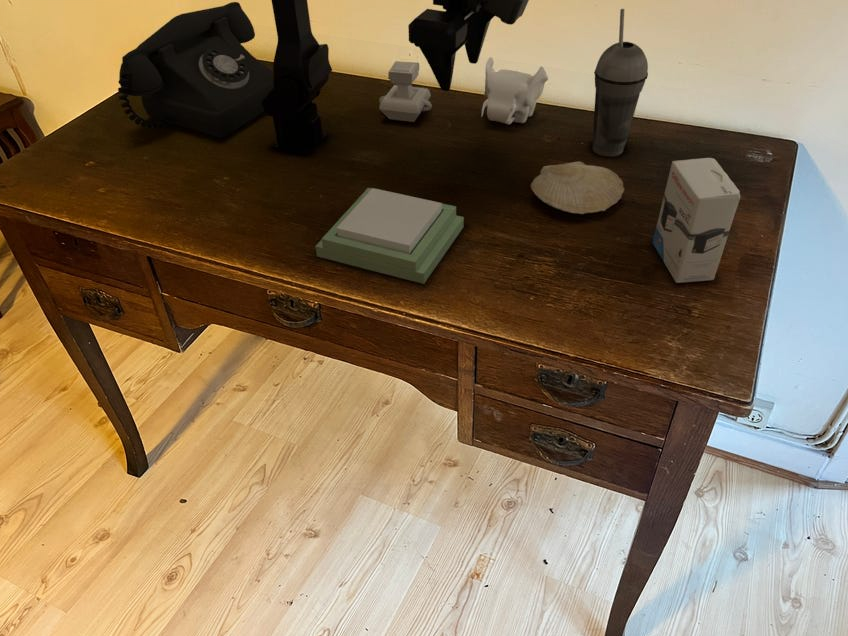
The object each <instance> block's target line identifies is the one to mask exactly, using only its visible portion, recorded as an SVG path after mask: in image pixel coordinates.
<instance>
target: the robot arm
mask: <svg viewBox="0 0 848 636" xmlns="http://www.w3.org/2000/svg"><path fill="white" fill-rule="evenodd" d="M529 1H530V0H432V5H433V6H440V7H442V9H443V10H438V9H432V8H426V9H425V10H424V11H422V12H421V13H420V14H419V15H417V16H416V17H415V18H414V19H413V20H412V21H411V22H410V23H409V24H408V25H407V26H408V42H409V43H410V44H413V45H414V47H417V48H419V49H420V52H421V53H422V54H423V56H424V58H425V60H426V62H427V63H428V66H429V68H430V69H431V72H432V73H433V75H434V78H435V79H436V82H437V84H438V87H439V88H440V90H442V91H445V92H449V91H450V90H451V86H452V83H453V75H454V69H455V61H456V55H457V52H458V51H459V50H460V49H461V48H462V47H463V46H464V48H465V53H466V55H467V60H468V62H469V63H470V64H477V63H478V62H479V59H480V57H481V52H482V48H483V45H484V43H485V39H486V35H487V32H488V30H489V26H490V23H491V21H492V19H494V18H495V17H497V18H498V19H500V22H502V23H504V24H506V25H510V26H511V25H514V24H515V23H516V22H517V20H518V19H519V18H520V17H522V16H523V14H524V13H525V11H526V8H527V6H528V4H529ZM271 6H272V12H273V18H274V25H275V29H276V35H277V43H276V48H275V52H274V57H273V62H272V69H273V70H272V71H273V81H274V88H273V89H272V90H271V91H270V93H269V94H268V95H267V96H266V97H265V98H264V100H263V101H262V102H261V103H262V106H263V108H264V110H265V111H264V112H265V114H266V115H267V116H268V117H272V118H273V119H272V120H273V126H274V132H275V137H276V140H275V141H274V142H272V143H271V148H272V149H274V150H279V151H283V152H289V153H292V154H297V155H302V156H307V155H309V154H311V152H312V151H313V150H314V149H316V148H317V146H319V145H320V144H321V143H322V142H323V141H324V140H325V139H326V138H327V134H326V133H325V132H323V127H322V118H321V114H319V113H318V112H319V111H318V106H317V103H315V102H313V101H314V100H315V99H316V98H318V97H320V94H321V90H322V89H323V88H324V86H325V85H326V84H327V83H328V81H329V77H330V73H331V72H332V71H333V68H332V66H331V63H330V59H329V55H330V53H329V52H330V51H329V50H330V49H329V45H328V44H327V43H321V44H320V43H319V42H318V41H317V39H316V37H315V36H314V34H313V32H312V25H311V18H310V10H309V4H308V0H271Z"/></svg>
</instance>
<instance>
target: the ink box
mask: <svg viewBox="0 0 848 636" xmlns="http://www.w3.org/2000/svg"><path fill="white" fill-rule="evenodd" d="M741 196H742V195H741V194H740V190H739V189H738V187H737V186H736V184H735V183H734V182H733V181H732V180H731V178H730V176H729V175H728V174H727V173H726V172H725V171H724V169H723V167H722V166H721V165H720V163H718V161H717V160H716V159H715V158H712V157H703V158H702V157H701V158H691V159H682V160H681V159H680V160H672V161H671V165H670V169H669V174H668V177H667V182H666V186H665V190H664V194H663V198H662V203H661V206H660V211H659V213H658V214H659V215H658V218H657V223H656V227H655V230H654V231H655V232H654V235H653V238H652V245H653V247H654V249H655V250H656V252H657V254H658V255H659V257H660V258H661V260H662V262H663V263H664V265H665V267H666V269H667V270H668V272H669V274H670V276H671V277H672V279H673V280H674V283H675V284H681V283H692V282H693V283H694V282H695V283H696V282H705V281H706V282H707V281H714V280H715V278H716V273H717V271H718V268H719V265H720V262H721V259H722V255H723V253H724V250H725V246H726V244H727V240H728V238H729V234H730V230H731V227H732V224H733V221H734V217H735V214H736V211H737V209H738V205H739V203H740V200H741V198H742V197H741Z"/></svg>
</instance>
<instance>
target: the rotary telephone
mask: <svg viewBox="0 0 848 636" xmlns="http://www.w3.org/2000/svg"><path fill="white" fill-rule="evenodd" d="M245 12H246V11H244V10H243V8H242V6H241V4H240V3H239V2H238V1H231V2H229V3H226V4H223V5H221V6H220V5H219V6H216V7H211V8H205V9H200V10H195V11H189V12H183V13H180V14H178V15H176V16H174V17H172V18H171V19H169V21H168V22H166V23H165V24H164V25H162V26H161V27H159V28H158V29H157V30H156V31H154V33H152V34H151V35H150V36H148V38H146V39H144V40H143V41H142V42H141V43H140V44H139V45H138V46H137V47H135V48H134V49H132V50H130V51H128V52H127V53H126V54H124V55H122V56H121V64H120V69H119V77H118V79H119V80H118V84H119V85H120V87H118V88H117V92H118V93H120V94H123V95H118V100H120V101H124V102H123V103H121V104H120V106H121V108H128V109H125V110H124V114H125V115H129V114H130V115H129V117H128V119H129V120H130V121H134V124H135V125H137V126H138V125H140V126H141V128H144V129H145V128H146V127H147V129H149V130H152V129H153V128H154V129H155V130H158V129H160V127H161V128H165V127H166V124H167V125H171V124H173V125H176V126H179V127H183V128H185V129H190V130H193V131H196V132H199V133H203V134H205V135H206V134H207V135H209V136H213V137H216V138H225V137H227V136H228V135H230V134H231V133H233V132H234V131H236V130H237V129H239V128H241V127H243V125H245V124H246V123H248V122H250V121H251V120H253V119H254V118H256V117H257V116H259V115H260V114H262V113H263V112H265V110H264V108H263V106H262V103H261V102H262V101H263V100H264V98H265V97H266V96H267V95H268V94H269V93H270V91H271V90H272V89H273V88H274V81H273V70H272V69H271V68H269V67H268V66H266V65H265V64H264V63H262V62H260V60H258V59H257V58H256V56H255V57H254V56H253V55H252V54H251V53H250V52H249V51H248V49H246V48H245V46H243V45H242V44H245V43H246V44H247V43H249V42H250V41H252V40H253V39H255V37H256V33H255V28H254V25H253V23H252V22H251V21H252V20H251V19H250V18H249V16H248V15H247V14H246V13H245ZM129 96H132V97H140V96H141V97H140V98H141V103H142V106H143V108H144V110H145V112H146V115H148V117H150V118H153V119H155V120H147V119H144V118H142V117H140V115H138V114H137V113H136V111H134V110H133V107H132V105H131V104H130V99H128V97H129ZM131 113H132V114H131ZM165 122H166V124H165Z"/></svg>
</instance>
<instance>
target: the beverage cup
mask: <svg viewBox="0 0 848 636" xmlns="http://www.w3.org/2000/svg"><path fill="white" fill-rule="evenodd" d="M619 11H620V12H619V32H618V42H616V43H613V44H611V45H610V46H609V47H607V48H606V49H605V50H604V51H603V52H602V54H601V55H600V56H599V59H598V61H597V64H596V66H595V69H594V72H593V73H594V87H595V95H594V108H593V109H594V110H593V127H592V151H593V152H594V153H595V154H597V155H599V156H602V157H617V156H620V155H622V153H623V152H624V148H625V146H626V143H627V140H628V138H629V133H630V129H631V127H632V122H633V120H634V116H635V113H636V108H637V105H638V102H639V98H640V95H641V92H642V91H643V89H644V86H645V83H646V80H647V79H648V77H649V71H648V70H649V63H648V59H647V56H646V54H645V52H644V50H643V49H642V48H641V47H640V46H639V45H637V44H635V43H633V42H631V41H624V30H625V29H624V27H625V8H620V9H619Z"/></svg>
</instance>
